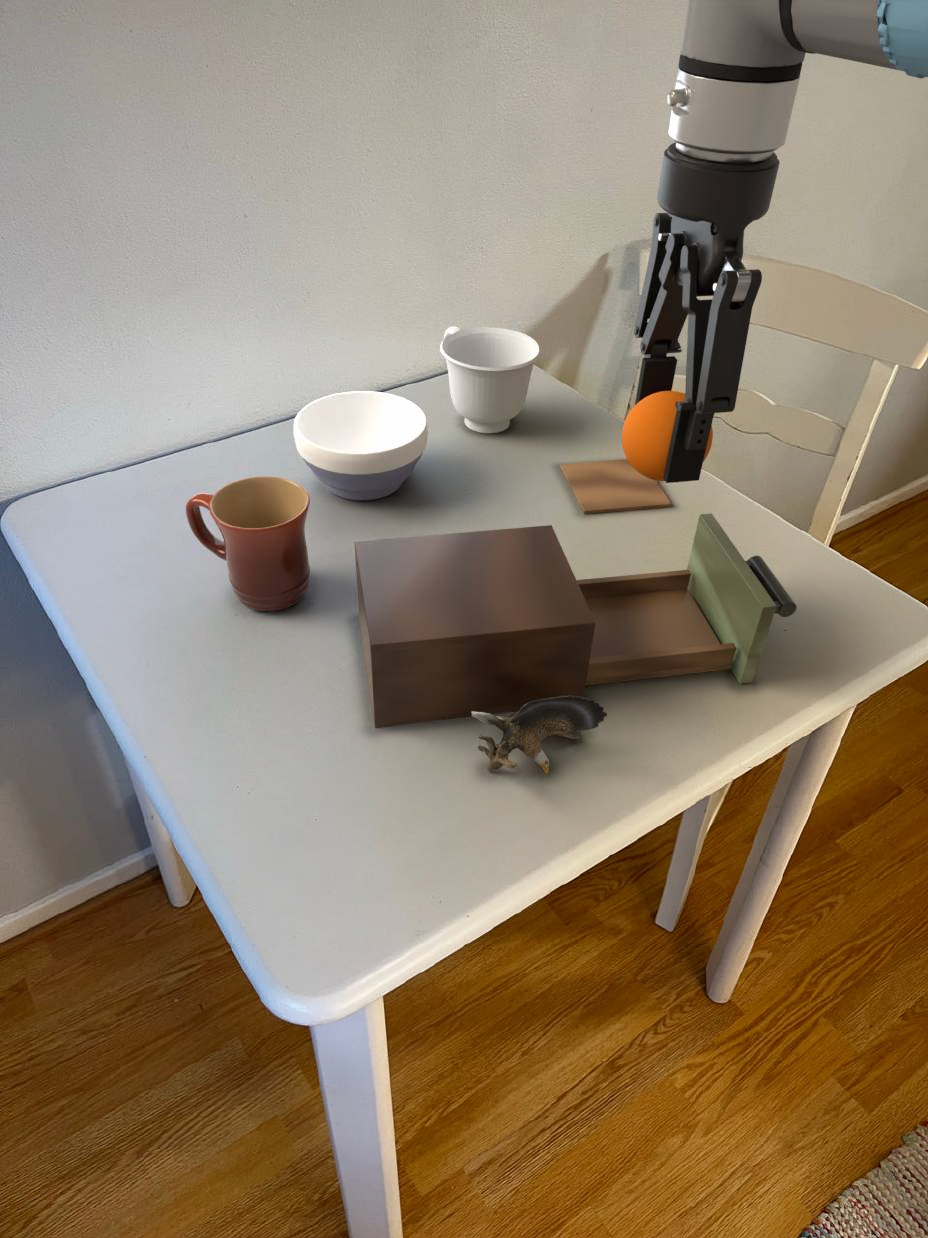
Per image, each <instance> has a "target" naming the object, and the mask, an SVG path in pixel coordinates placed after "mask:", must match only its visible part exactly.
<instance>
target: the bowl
mask: <svg viewBox="0 0 928 1238" xmlns="http://www.w3.org/2000/svg"><path fill="white" fill-rule="evenodd" d="M428 427H429V425H428V418H427V417H426V414H425V412H424V411H423V410H422V408H420V406H418V405H417V404H416V403H414V402H413V401H411V400H409V399H407V398H405V397H402V396H399V395H396V394H393V393H388V392H387V393H386V392H381V391H373V390H372V391H371V390H357V391H356V390H355V391H354V390H353V391H344V392H339V393H333V394H329V395H326V396H323V397H320V398H318V399H315V400H313V401H311V402H310V403H308V404H306V405H305V406H304V407H303V408H301V410H299V412H298V413H297V415H296V416H295V417H294V421H293V437H294V442H295V447H296V451H297V453H298V454H299V455H300V457H301V458H302V460H303V461H304V463H305V465H306V466H307V467H309V469H310V470H311V472H312V473H313V475H314V476H315V477H316V478H317V479H318V480H319V481H321V482H322V483H323V484H324V486H325V487H326V488H327V490H329V491H330V492H331V493H332V494H333V495H336V496H338V497H339V498H342V499H347V500H352V501H373V500H378V499H383V498H384V497H388V496H390V495H392V494H393V493H395V492H396V491H398V490H399V488H400V487H401V486H402V484H403V482H404V480H406V479H407V478H408V477H409V476H410V475H411V473H412V472H413V470H414V469H415V466H416V465H417V463H418V462H419V461H420V459H421V457H422V455H423V453H424V451H425V450H426V447H427V445H428V437H429V436H428V435H429V428H428Z"/></svg>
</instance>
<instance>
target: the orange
mask: <svg viewBox="0 0 928 1238" xmlns="http://www.w3.org/2000/svg"><path fill="white" fill-rule="evenodd" d="M684 401H685V392H681V391H677V390H672V391H661V392H657V393H654V394H651V395H649V396H647V397H645V398H644V399H642V400H641V401H639V402H638V403H637V404H636V405H635V404H634V406H633V407H632V408H631V410H630V411H629V412H628V414H627V417H625V420H624V423H623V427H622V431H621V445H622V446H621V447H622V450H623V453H624V456H625V458H626V459H627V460H628V461H629V463H630V464H631V466H632V467H633V468H634V469H635V470H636V471H637V472H639V473H640V474H641V475H643V476H645V477H647V478H649V479H652V480H656V481H657V482H665V480H664V479H663V476H664V471H665V466H666V461H667V456H668V451H669V446H670V441H671V436H672V431H673V426H674V421H675V416H676V411H677V409H676V406H675V402H684ZM713 437H714V429H713V424H712V425H711V429H710V434H709V438H708V443H707V447H706V451H705V456H704V460H703V463H704V462H705V461H706V459H707V458H708V455H709V453H710V451H711V448H712V443H713Z"/></svg>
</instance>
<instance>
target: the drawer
mask: <svg viewBox="0 0 928 1238" xmlns="http://www.w3.org/2000/svg"><path fill="white" fill-rule="evenodd" d="M576 581H577V583H578V585H579V587H580V589H581V592H582V594H583V596H584V598H585V601H586V603H587V605H588V607H589V609H590V612H591V614H592V616H593V618H594V620H595V630H594V636H593V642H592V648H591V655H590V661H589V667H588V674H587V680H586V686H591V685H600V684H610V683H619V682H628V681H634V680H635V681H636V680H645V679H652V678H653V679H654V678H662V677H671V676H672V677H673V676H679V675H688V674H698V673H707V672H717V671H724V670H731V672H732V673H733V675H734V677H735V679H736V680H737V682H738V684H747V683H749V684H750V683H752V682H753V680H754V677H755V674H756V671H757V668H758V665H759V662H760V659H761V656H762V653H763V649H764V646H765V644H766V640H767V637H768V634H769V631H770V628H771V625H772V622H773V619H774V616H775V615H779V616H780V617H782V618H788V617H790V616H792V615H793V614H794V613H796V611H797V608H798V607H797V604H796V602H794V600H793V599H792V597H791V596H790V594H788V592H787V590H786V589H785V587H784V586H783V585H782V584H781V582H780V581H779V580H778V578H777V577H776V575H775V574H774V573H773V571H772V570H771V569H770V567H769V565H768V564H767V563H766V562H765V561H764V559H763V557H762V556H760V555H753V556H751V557H749V558H748V559H747V560H745V559H744V557H743V556H742V554H741V553H740V551H739V550H738V549H737V547H736V546H735V545H734V543H733V541H732V540H731V539H730V537H729V536H728V533H726V531H725V530H724V529H723V527H722V526H721V524H720V523H719V522H718V520H717V519H716V517H715V516H714V514H713V513H711V512H710V513H700V514H699V516H698V520H697V524H696V529H695V534H694V538H693V542H692V546H691V551H690V555H689V558H688V563H687V568H686V569H681V570H670V571H659V572H649V573H637V574H627V575H626V574H625V575H618V576H615V575H614V576H605V577H594V578H584V579H576Z"/></svg>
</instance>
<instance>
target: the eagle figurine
mask: <svg viewBox="0 0 928 1238" xmlns="http://www.w3.org/2000/svg"><path fill="white" fill-rule="evenodd" d="M604 710H605V707H604V706H602V705H601V704H600V702H596V699H592V698H591V699H589V697H584V698H583V697H577V696H571V695H569V696H560V697H553V698H545V699H541V700H535V701H531V702H529V703H526V704H525V705H524V706H523V707H522V708H521V709H520V710H519V711H516V712H513V713H512V714H509V715H507V716H501V715H500V716H498V715H495V714H490V713H483V712H474V711H472V712H471V713H472V716H471V717H472V718H475V719H476V720H479V721H480V722H481V723H483V724H486V725H489V726H493V727H495V728H497V729H499V730H500V731H501V732H502V737H501V739H500V741H499V743H498V744H497V745H496V742H495V739H494V738H493V737H492V736H488V735H481V734H480V735H479V736H478V739H480V740H483V741H485V742H486V744H487V746H488V748H487V747H486V746H484V745H481V744H480V745H478V746H477V749H478V750H479V751H480V752H484V754H485V755H486V756H487V757H488V759H489V763H488V765H487V771H488V773H489V772H490V773H491V772H492V771H495V770H499V769H501V768H502V767H503V766H504V767H507V768H509V769H511V770H514V769H515V768H516V767H517V766H518V764H517V763H516V762H514V761H513V760H511V759H509V758H510V757H509V754H510V753H511V752H512V751H513V750H515V749H518V750H519V751H520V752H522V753H523V754H524V755H525V756H527V757H529V758H530V759H532V761H534V762H536V763H537V765H539V766H540V767H541V768H542V769H543V771H544V773H545V774H548V773H549V770H550V768H549V765H550V761H549V757H548V756H547V754H546V753H545V751H544V750H543V749H542V747H541V743H542V741H543V740H544V739H546V738H547V737H549V736H550V737H563V738H566V739H571V740H580V735H581V733H580V732H579V731H588V730H590V731H591V730H594V729H596V728H598V727H599V724H600V723H602V722H603V721H604V720H605V718H606V717H607V716H608V713H607V712H606V711H604Z"/></svg>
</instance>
